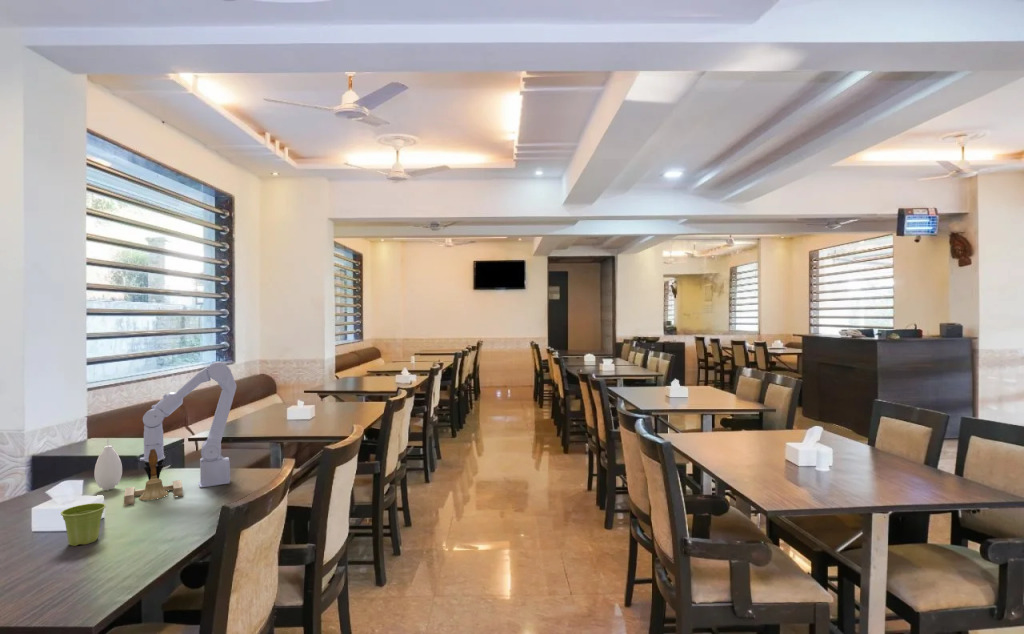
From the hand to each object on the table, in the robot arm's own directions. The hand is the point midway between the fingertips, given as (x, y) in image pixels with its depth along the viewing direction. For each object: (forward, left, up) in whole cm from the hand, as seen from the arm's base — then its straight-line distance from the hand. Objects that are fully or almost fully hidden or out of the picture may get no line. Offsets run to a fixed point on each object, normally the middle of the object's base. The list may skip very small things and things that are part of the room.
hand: (154, 483), depth 189 cm
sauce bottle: (+14, -13, -3) cm, 19 cm away
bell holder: (0, +8, -3) cm, 8 cm away
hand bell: (0, +7, -3) cm, 8 cm away
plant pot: (+16, +44, -3) cm, 46 cm away
